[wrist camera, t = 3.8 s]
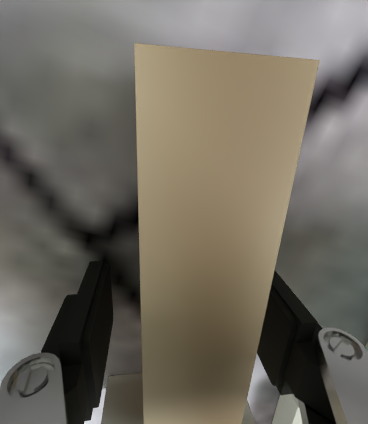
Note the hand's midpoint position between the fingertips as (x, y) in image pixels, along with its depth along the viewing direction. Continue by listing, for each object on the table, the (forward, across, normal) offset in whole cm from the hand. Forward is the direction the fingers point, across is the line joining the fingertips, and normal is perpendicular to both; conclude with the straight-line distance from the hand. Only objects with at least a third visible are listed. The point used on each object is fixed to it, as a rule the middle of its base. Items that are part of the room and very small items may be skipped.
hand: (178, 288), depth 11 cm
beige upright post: (+1, 0, 0) cm, 1 cm away
